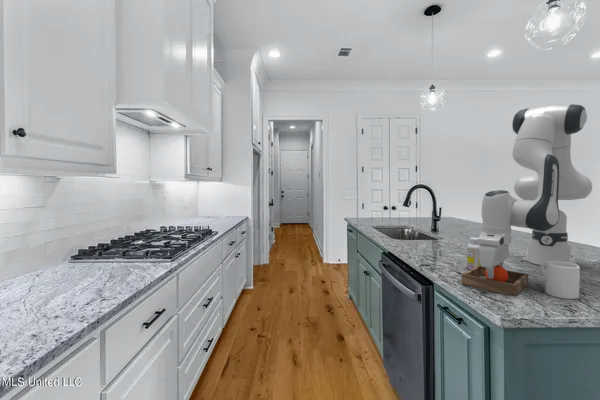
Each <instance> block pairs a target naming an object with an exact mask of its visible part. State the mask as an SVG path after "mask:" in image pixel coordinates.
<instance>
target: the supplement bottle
mask: <svg viewBox="0 0 600 400" xmlns="http://www.w3.org/2000/svg"><path fill="white" fill-rule="evenodd" d="M469 242H470V243H468V244H467V247H466V251H467V252H466V254H467V256H466V257H467V258H466V262H467V263H466V266H467V269H468V270H471V269H473V268H474V267H476V266H481V264H480V257H479V246H480V244H478V237H470V239H469Z"/></svg>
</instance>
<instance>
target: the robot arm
mask: <svg viewBox="0 0 600 400" xmlns="http://www.w3.org/2000/svg"><path fill="white" fill-rule="evenodd" d="M586 110H587V109H586V108H585V107H584V106H583V105H581V104H570V105H569V104H560V105H559V104H557V105H554V104H553V105H546V106H540V107H534V108H523V109H520V110H518V111H517V112H516V113H515V114H514V116H513V119H512V122H511V123H512V124H511V125H512V126H511V128H512V131H513V132H514V134H516V138H515V141H514V143H513V144H514V145H513V147H512V148H513V149H512V158H513V161H515V162H516V163H517V164H518V165H519V166H520V167H523V168H525V169H528V170H530V171H534V172H536V173H537V174H531V175H525V176H520V177H518V179H517V180H516V181H515V183H514V186H513V189H514V194H516V196H517V197H518V198H520V199H518V198H515V197H513V196H512V195H511V193H510V191H509V190H505V189H504V190H503V189H502V190H501V189H500V190H491V191H488V192H486V193H484V195H483V198H482V200H481V201H482V202H481V214H480V215H481V219H482V224H481V225H480V226H481V227H480V235H479V236H478V237H477V238H478V244H480V246H479V257H480V264H481V266H482V267H486V270H487V273H488V275H487V277H488V278H490V279H493V278H494V277H495V273H494V267H495V266H497V265H499V266H502V267H503V266H504V262H505V261H506V260H507V259H509V255H510V250H509V246H510V245H509V244H511V243H512V240H511V239H512V227H516V228H521V229H522V228H524V229H530V230H532V231H531V232H532V233H531V240H530V241H528V242H527V249H526V255H525V256H523V257H521V258H522V261H525V262H526V261H527V262H529V263H531V264H534V265H538V266H541V264H542V263H544V262H548V261H560V262H568V263H573V264H576V265H578V264H577V262H576V260H575V259H574V255H573V254H572V247H571V246H570V244H568V239H569V235H568V232H567V226H568V225H567V220H568V216H567V215H566V214H567V213H565V212H564V211H563V210H560V209H559V201H575V200H581V199H586V198H587V197H588V196H590V194H591V193H592V190H593V182H592V181H591V179H590V178H589V177H588V176H586V175H584V174H583V173H581V172H579V171H578V170H577V169H576V168H575V166H574V165H573V162H572V159H571V158H572V157H571V147H572V146H571V145H572V134H576V133H578V132H580V131H581V130H582V129H584V126H585V125H586V123H587V119H588V113H587V111H586ZM545 267H546V265H545ZM503 268H504V267H503Z"/></svg>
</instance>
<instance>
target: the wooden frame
mask: <svg viewBox="0 0 600 400" xmlns="http://www.w3.org/2000/svg"><path fill="white" fill-rule="evenodd" d="M485 270H486V268H485V267H482V266H476V267H474V268H473V269H468V270H467V271H466V272H464V273H462V274H461V285H463V286H466V287H467V286H468V287H472V288H477V289H482V290H485V289H486V290H485V291H489V290H490V292H494V293H498V294H499V293H500V294H504V295H508V296H512V297H516V296H518V295H519V294H520V293H521V292H522V290H524V289H525V288H526V287H527V286H528V285H529V273H523V272H517V271H512V270H506V269H505V270H506V271H507V273H508V280H507V281H508V282H507V281H506V282H500V281H495V280H490V279H486V277H485ZM480 276H482V277H480ZM484 277H485V278H484ZM509 282H513V283H509Z"/></svg>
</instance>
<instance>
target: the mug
mask: <svg viewBox="0 0 600 400" xmlns="http://www.w3.org/2000/svg"><path fill="white" fill-rule="evenodd" d="M576 264H577V263H576ZM576 264H573V263H568V262H560V261H548V262H544V263H542V264H541V265H539V268H540V272H541V273H542V276H543V277H544V278H545V281H544V283H545V285H544V286H545V287H544V292H545V293H546V294H547V295H549V296H552V297H555V298H559V299H566V300H577V299H579V298H580V281H581V280H580V272H581V267H580V265H578V264H577V265H576ZM545 265H546V266H545Z"/></svg>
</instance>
